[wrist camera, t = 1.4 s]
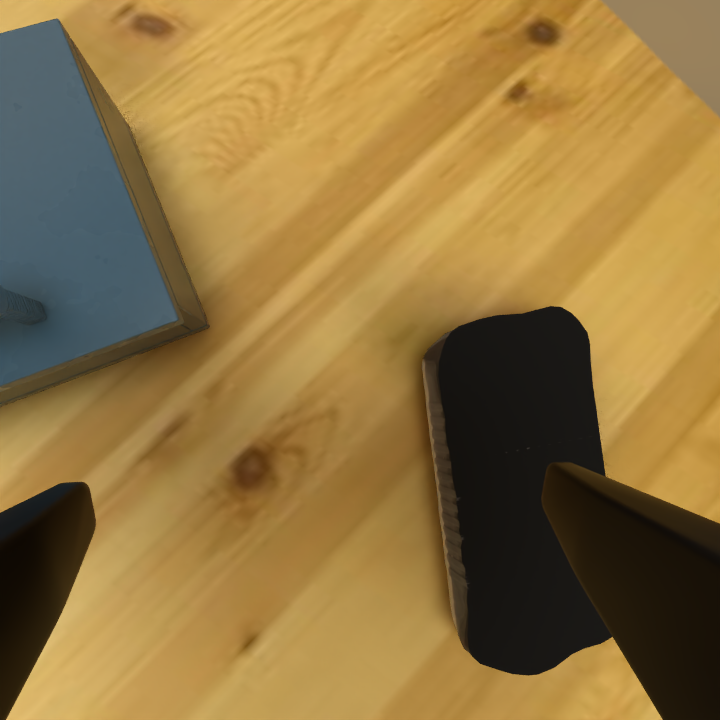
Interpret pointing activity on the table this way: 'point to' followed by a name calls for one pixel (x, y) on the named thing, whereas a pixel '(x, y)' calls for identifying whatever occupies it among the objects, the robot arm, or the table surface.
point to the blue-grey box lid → (66, 219)
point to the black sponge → (512, 482)
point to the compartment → (162, 244)
